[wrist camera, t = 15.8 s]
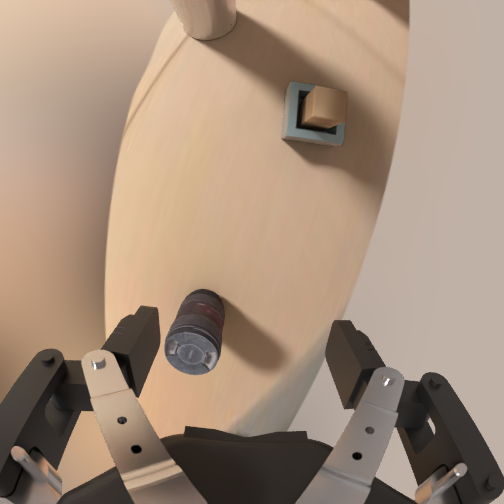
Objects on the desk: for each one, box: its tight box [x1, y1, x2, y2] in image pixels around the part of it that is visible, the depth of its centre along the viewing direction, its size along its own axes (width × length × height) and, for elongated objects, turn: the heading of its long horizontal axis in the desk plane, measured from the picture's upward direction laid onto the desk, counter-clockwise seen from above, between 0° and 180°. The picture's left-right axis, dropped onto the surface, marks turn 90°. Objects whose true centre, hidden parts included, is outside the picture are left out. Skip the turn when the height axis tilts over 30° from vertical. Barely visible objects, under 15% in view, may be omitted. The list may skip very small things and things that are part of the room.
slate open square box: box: [282, 81, 346, 146], centre depth 37 cm, size 8×8×6 cm
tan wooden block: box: [298, 85, 347, 131], centre depth 34 cm, size 4×4×11 cm
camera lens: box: [165, 289, 225, 375], centre depth 43 cm, size 8×8×15 cm
